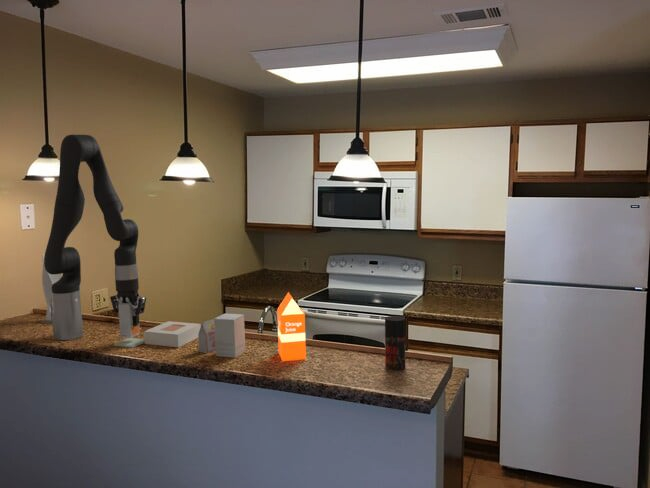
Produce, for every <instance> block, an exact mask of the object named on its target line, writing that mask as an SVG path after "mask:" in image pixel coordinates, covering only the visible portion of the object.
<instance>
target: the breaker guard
mask: <svg viewBox="0 0 650 488" xmlns="http://www.w3.org/2000/svg"><path fill="white" fill-rule="evenodd" d="M172 325H176V326H184V327H182V328H179V329H177V330H175V331H165V330H163V329H165V328H168V327H170V326H172ZM200 327H201V323H192V322H182V321H181V322H179V321H170V320H168V321H166V322H163V323H161V324H159V325H156V326H153V327H151V328H148V329H146V330H145V331H143V339H144V340H145V343H144V345H150V346H151V345H153V346H162V347H163V346H164V347H171V348H173V347H174V348H180V347H183V346H184V345H186V344H187V343H190V342H192V341H194V340H196V339H198V333H199V330H200Z"/></svg>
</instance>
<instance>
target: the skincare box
mask: <svg viewBox="0 0 650 488" xmlns="http://www.w3.org/2000/svg"><path fill="white" fill-rule="evenodd" d="M132 306H133V307H134V306H135V305H132ZM118 307H119V314H118V321H119V337H120V338H121V339H122V338H123V339H128V338H134V337H135V336H138V335H139V334H141V333H140V332H141V330H140V329H141V328H140V324H139V325H138V326H133V320H132V316H133V315H132V310H131V305H130V304H128V303H121V304H118ZM135 312H136V311H135Z"/></svg>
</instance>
